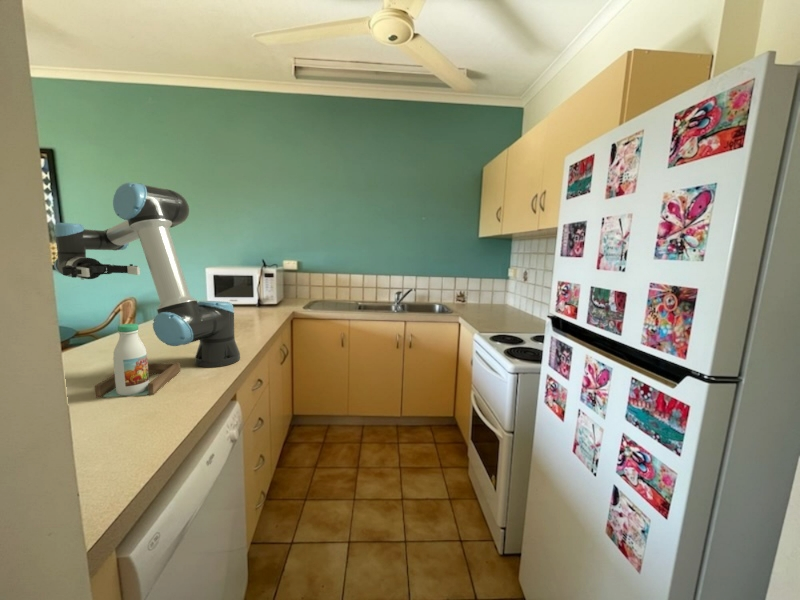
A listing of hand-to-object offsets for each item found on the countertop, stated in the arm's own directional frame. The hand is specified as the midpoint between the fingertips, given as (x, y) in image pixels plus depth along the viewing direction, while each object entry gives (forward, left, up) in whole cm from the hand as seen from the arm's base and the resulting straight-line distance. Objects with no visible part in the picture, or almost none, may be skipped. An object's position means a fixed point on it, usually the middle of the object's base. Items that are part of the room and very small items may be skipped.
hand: (114, 271), depth 109 cm
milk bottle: (-12, +18, -34) cm, 40 cm away
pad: (-11, +18, -34) cm, 40 cm away
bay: (-11, +13, -34) cm, 38 cm away
